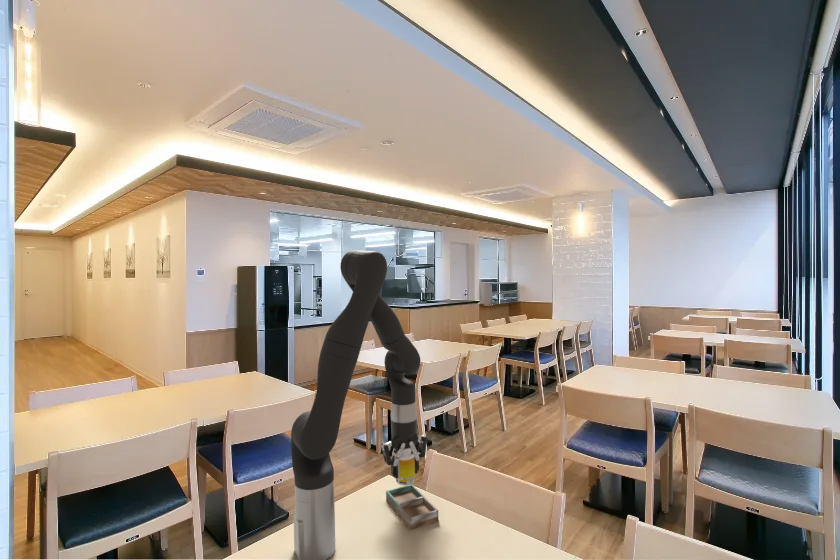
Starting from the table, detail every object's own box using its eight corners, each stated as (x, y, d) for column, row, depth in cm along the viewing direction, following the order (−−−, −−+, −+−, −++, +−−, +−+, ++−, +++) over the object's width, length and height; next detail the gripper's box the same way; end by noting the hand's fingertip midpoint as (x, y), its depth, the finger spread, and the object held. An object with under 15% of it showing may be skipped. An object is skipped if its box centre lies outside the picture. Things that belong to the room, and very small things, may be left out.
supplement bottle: (419, 482, 122) (418, 446, 122) (403, 488, 118) (402, 452, 118) (407, 475, 126) (406, 441, 126) (392, 481, 123) (391, 446, 123)
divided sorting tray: (410, 529, 110) (409, 519, 110) (386, 500, 124) (386, 490, 124) (438, 520, 113) (438, 510, 113) (412, 493, 128) (412, 483, 128)
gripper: (385, 425, 116) (387, 486, 116) (431, 416, 122) (433, 474, 122) (376, 417, 122) (377, 475, 122) (420, 409, 129) (421, 464, 129)
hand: (405, 474), depth 122 cm, fingers closed on supplement bottle, 5 cm apart
